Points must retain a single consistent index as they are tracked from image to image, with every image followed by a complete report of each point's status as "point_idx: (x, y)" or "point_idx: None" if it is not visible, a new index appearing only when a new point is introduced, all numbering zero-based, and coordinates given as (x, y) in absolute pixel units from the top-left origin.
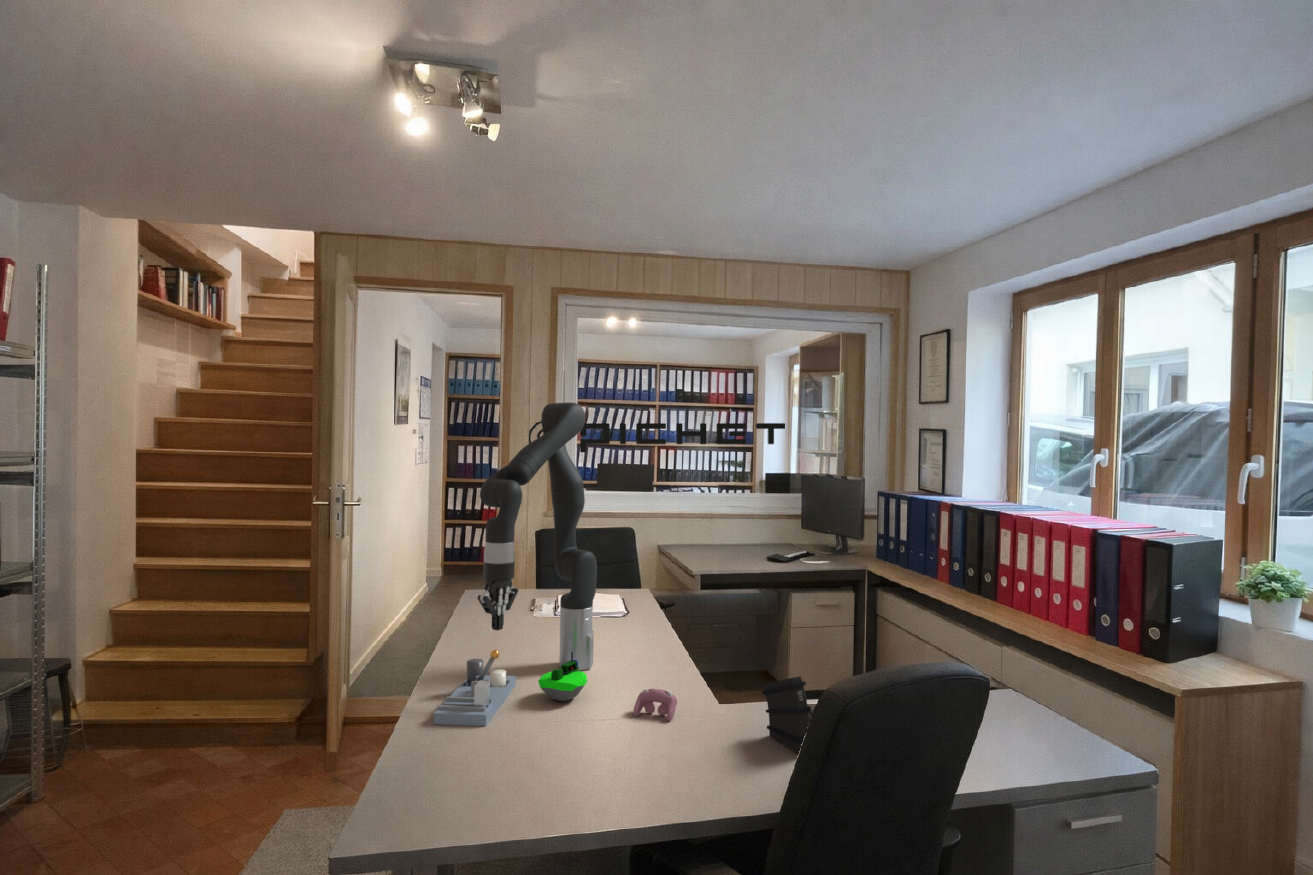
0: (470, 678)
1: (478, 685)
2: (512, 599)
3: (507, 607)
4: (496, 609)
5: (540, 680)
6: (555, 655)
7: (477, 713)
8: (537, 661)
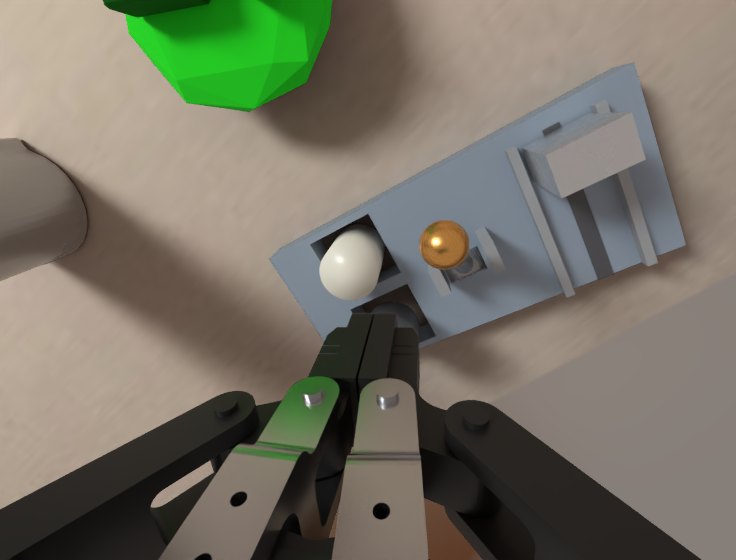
0: (418, 329)
1: (625, 152)
2: (106, 478)
3: (245, 415)
4: (419, 445)
5: (310, 55)
6: (40, 315)
7: (631, 106)
8: (109, 325)
